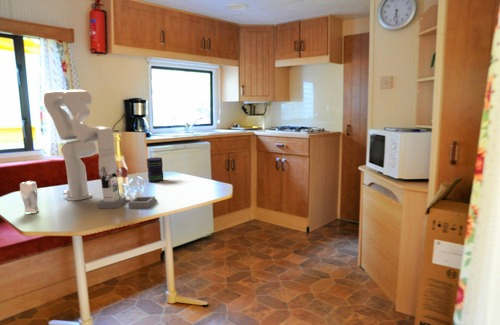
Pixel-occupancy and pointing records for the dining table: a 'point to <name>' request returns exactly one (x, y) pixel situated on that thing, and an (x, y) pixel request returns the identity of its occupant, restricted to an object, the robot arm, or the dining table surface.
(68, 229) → the dining table surface
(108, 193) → the syrup box
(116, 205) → the panel
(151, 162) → the storage jar
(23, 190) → the white vase
